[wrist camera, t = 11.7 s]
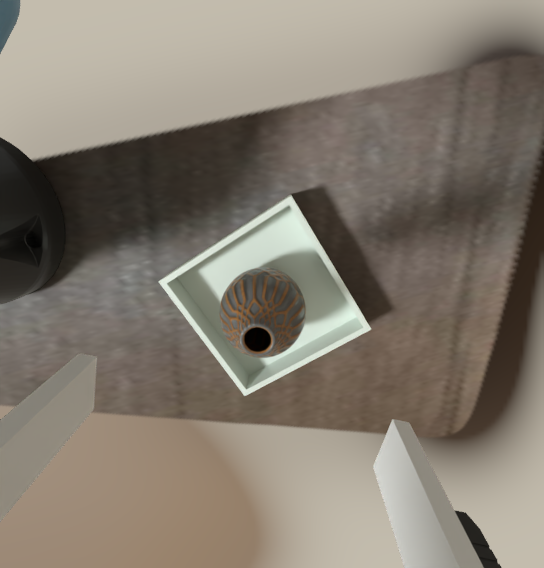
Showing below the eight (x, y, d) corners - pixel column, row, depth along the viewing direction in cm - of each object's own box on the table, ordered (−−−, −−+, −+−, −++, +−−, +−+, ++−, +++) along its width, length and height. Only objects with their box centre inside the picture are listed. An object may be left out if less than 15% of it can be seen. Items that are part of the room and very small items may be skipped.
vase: (239, 249, 29) (220, 276, 20) (314, 273, 29) (325, 309, 21) (219, 318, 31) (194, 369, 22) (289, 339, 31) (290, 397, 23)
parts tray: (170, 272, 30) (158, 281, 27) (290, 194, 28) (291, 195, 25) (248, 377, 33) (244, 396, 30) (363, 315, 31) (371, 329, 28)
